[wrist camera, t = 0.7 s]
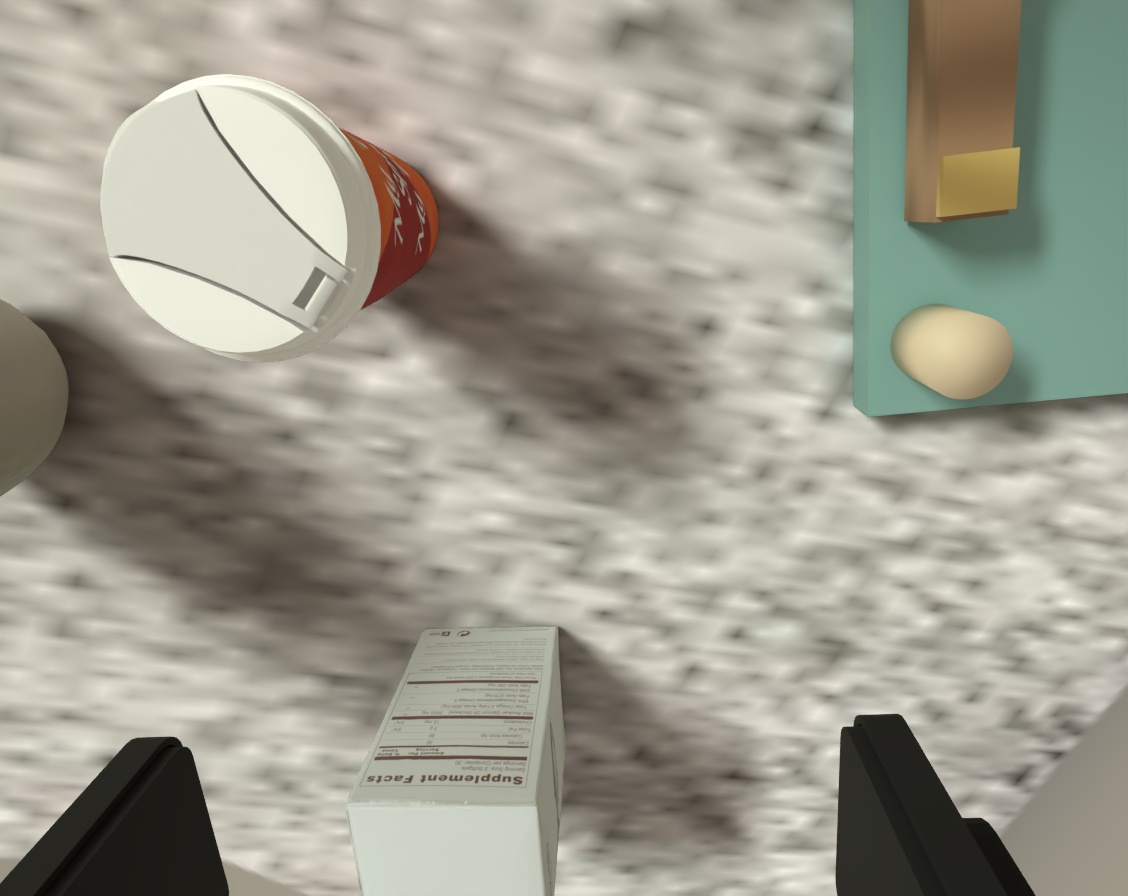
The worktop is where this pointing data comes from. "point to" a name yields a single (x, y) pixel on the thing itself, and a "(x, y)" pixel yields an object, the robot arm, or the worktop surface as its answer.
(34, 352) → the grey ceramic bottle
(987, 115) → the folding leg
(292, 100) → the paper cup
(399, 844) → the supplement box
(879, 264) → the stool seat
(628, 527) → the worktop surface
